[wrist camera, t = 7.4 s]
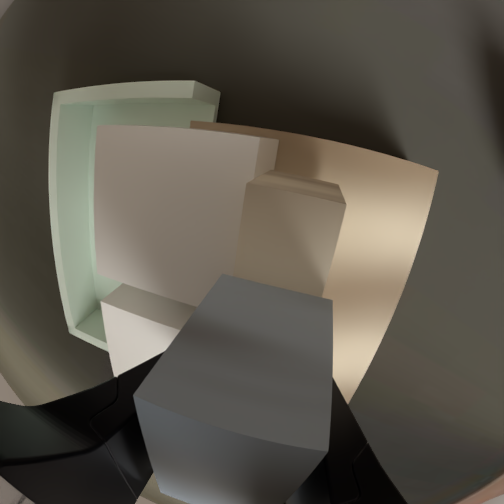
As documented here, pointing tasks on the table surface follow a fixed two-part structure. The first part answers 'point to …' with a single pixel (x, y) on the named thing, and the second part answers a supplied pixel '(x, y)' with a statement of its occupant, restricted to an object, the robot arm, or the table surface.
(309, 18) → the table surface
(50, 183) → the tray
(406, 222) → the tan tray
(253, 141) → the tile
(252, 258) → the grey and tan block
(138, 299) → the tile
